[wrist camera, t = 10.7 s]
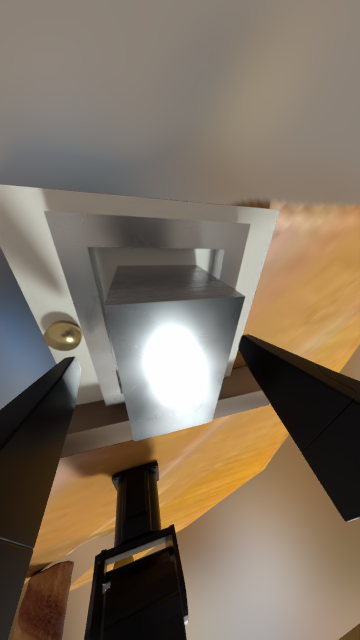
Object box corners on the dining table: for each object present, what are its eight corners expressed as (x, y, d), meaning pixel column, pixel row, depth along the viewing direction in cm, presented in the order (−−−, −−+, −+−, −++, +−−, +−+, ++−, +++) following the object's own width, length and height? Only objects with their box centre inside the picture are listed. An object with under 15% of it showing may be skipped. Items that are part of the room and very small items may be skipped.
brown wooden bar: (251, 381, 19) (268, 405, 17) (38, 425, 14) (18, 468, 12) (258, 364, 18) (278, 386, 15) (23, 406, 13) (-4, 450, 10)
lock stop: (187, 361, 14) (211, 421, 10) (133, 370, 13) (133, 441, 8) (196, 264, 10) (245, 296, 5) (117, 265, 9) (103, 305, 4)
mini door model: (226, 369, 17) (236, 385, 15) (79, 396, 14) (72, 420, 12) (270, 210, 10) (297, 208, 8) (-15, 185, 7) (-64, 173, 5)
